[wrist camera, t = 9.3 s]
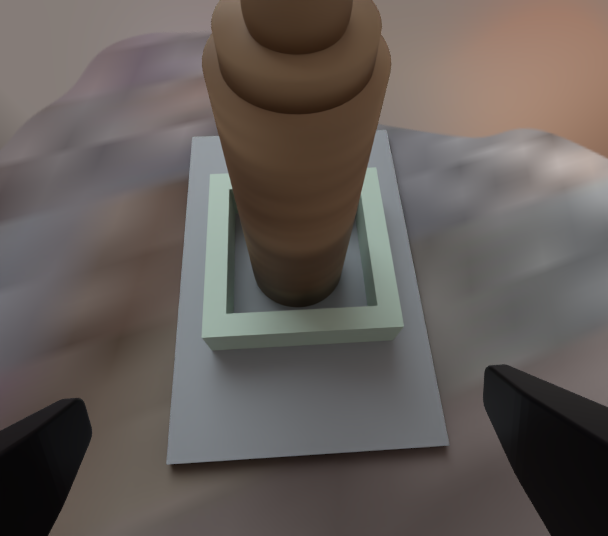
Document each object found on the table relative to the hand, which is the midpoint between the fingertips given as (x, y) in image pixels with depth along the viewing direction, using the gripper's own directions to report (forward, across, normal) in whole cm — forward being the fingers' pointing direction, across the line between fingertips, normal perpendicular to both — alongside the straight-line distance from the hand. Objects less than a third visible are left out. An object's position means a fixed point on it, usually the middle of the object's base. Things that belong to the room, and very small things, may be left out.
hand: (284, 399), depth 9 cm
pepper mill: (+12, 0, 0) cm, 12 cm away
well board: (+13, 0, +1) cm, 13 cm away
